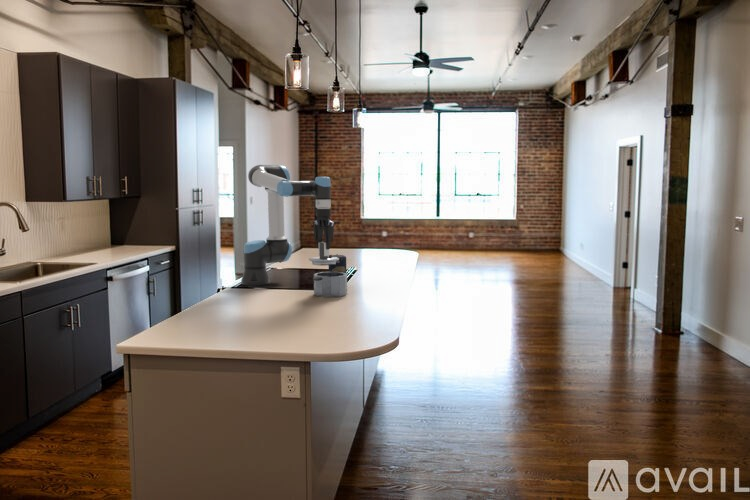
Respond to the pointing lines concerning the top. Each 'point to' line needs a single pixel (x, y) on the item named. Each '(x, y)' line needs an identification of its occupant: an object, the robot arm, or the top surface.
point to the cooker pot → (330, 284)
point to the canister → (339, 264)
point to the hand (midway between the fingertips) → (323, 255)
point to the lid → (323, 257)
